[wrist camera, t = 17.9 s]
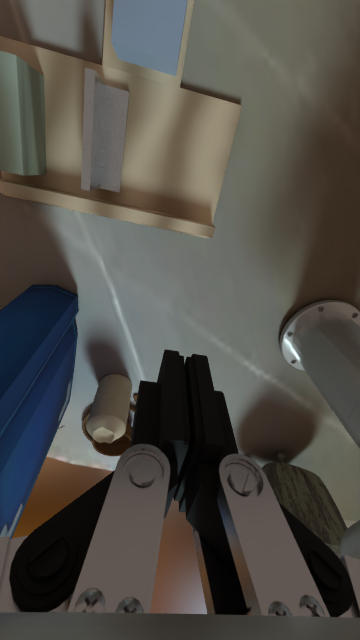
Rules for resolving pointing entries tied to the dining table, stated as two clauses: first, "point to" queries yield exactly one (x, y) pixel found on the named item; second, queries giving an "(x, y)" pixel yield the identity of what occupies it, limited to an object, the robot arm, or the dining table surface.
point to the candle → (110, 409)
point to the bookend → (103, 134)
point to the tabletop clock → (306, 500)
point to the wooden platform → (140, 142)
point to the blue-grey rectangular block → (149, 32)
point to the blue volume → (32, 388)
